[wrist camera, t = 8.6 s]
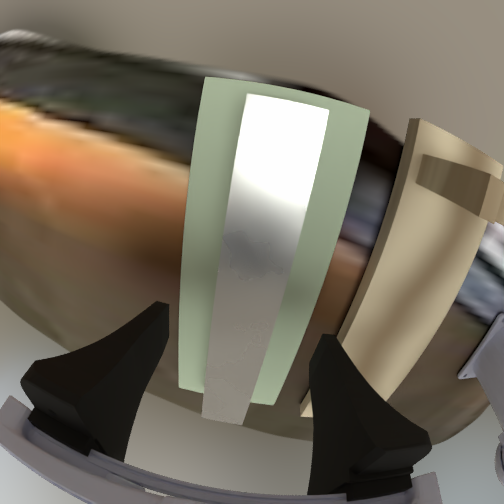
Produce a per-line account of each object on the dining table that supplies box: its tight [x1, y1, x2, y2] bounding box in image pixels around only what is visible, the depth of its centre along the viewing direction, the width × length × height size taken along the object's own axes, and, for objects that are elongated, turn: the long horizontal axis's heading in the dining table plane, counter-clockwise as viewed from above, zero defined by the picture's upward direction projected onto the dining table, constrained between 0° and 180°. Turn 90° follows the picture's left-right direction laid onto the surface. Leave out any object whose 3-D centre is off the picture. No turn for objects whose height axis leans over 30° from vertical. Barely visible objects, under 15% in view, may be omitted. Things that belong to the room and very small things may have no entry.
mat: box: [179, 77, 370, 405], centre depth 16 cm, size 8×22×1 cm, turn 170°
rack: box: [300, 118, 504, 417], centre depth 13 cm, size 7×23×6 cm, turn 170°
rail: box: [202, 93, 329, 425], centre depth 14 cm, size 20×3×3 cm, turn 170°
